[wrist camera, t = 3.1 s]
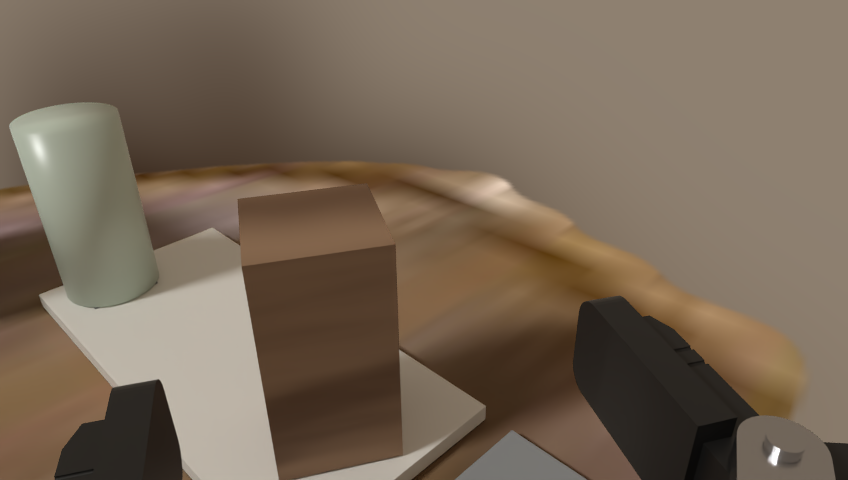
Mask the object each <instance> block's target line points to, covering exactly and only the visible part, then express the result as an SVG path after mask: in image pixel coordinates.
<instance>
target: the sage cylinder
mask: <svg viewBox="0 0 848 480" xmlns="http://www.w3.org/2000/svg"><path fill="white" fill-rule="evenodd" d="M9 128H10V131H11V134H12V136H13V139H14V142H15V145H16V148H17V151H18V154H19V157H20V160H21V163H22V166H23V169H24V171H25V174H26V177H27V180H28V183H29V186H30V189H31V192H32V195H33V198H34V201H35V204H36V207H37V210H38V212H39V215H40V218H41V221H42V224H43V227H44V230H45V233H46V236H47V239H48V242H49V245H50V247H51V250H52V253H53V256H54V259H55V262H56V265H57V268H58V271H59V274H60V277H61V280H62V283H63V285H64V288H65V291H66V294H67V297H68V299H69V300H70V301H71V302H72V303H74V304H77V305H79V306H84V307H107V306H113V305H117V304H121V303H124V302H127V301H130V300H132V299H134V298H137V297H139V296H140V295H142V294H144V293H145V292H147V291H148V290H149V289H151V288H152V287H153V286H154V285H155V283H156V282H157V280H158V278H159V271H158V267H157V263H156V259H155V255H154V251H153V247H152V243H151V239H150V235H149V231H148V227H147V223H146V219H145V215H144V211H143V207H142V203H141V199H140V195H139V191H138V187H137V183H136V179H135V175H134V171H133V168H132V164H131V160H130V156H129V152H128V148H127V144H126V140H125V136H124V132H123V128H122V124H121V121H120V116H119V112H118V109H117V108H116V107H114V106H112V105H109V104H104V103H93V102H92V103H91V102H85V103H70V104H62V105H56V106H51V107H46V108H42V109H39V110H35V111H32V112H29V113H26V114H24V115H22V116H20V117H18V118H16V119H15V120H13V121H12V122H11V123H10V125H9Z"/></svg>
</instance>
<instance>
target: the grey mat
mask: <svg viewBox="0 0 848 480" xmlns="http://www.w3.org/2000/svg"><path fill="white" fill-rule="evenodd" d="M455 480H587V479H585V478H584V477H582V476H581V475H579V474H578V473H576V472H575V471H573V470H572V469H570V468H569V467H567V466H566V465H564V464H563V463H561V462H560V461H558V460H556V459H555V458H553V457H552V456H550V455H549V454H547V453H546V452H544V451H543V450H541V449H540V448H538V447H537V446H535V445H534V444H532V443H531V442H529V441H528V440H526V439H525V438H523V437H522V436H520V435H519V434H517V433H516V432H514V431H513V430H512V431H510V432H509V433H508V434H507V435H506V436H505V437H504V438H502V439H501V440H500V441H499V442H498V443H497V444H495V445H494V446H493V447H492V448H491V449H490V450H489V451H487V452H486V453H485V454H484V455H483V456H482V457H480V458H479V459H478V460H477V461H476V462H475V463H474V464H472V465H471V466H470V467H469V468H468V469H467V470H465V471H464V472H463V473H462V474H461V475H460V476H459V477H457V478H456V479H455Z"/></svg>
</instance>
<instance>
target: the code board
mask: <svg viewBox="0 0 848 480" xmlns="http://www.w3.org/2000/svg"><path fill="white" fill-rule="evenodd" d="M153 251H154V255H155V259H156V263H157V267H158V271H159V278H158V280H157V282H156V283H155V285H154V286H153V287H152V288H151V289H149V290H148V291H147V292H145V293H144V294H142V295H140V296H139V297H137V298H134V299H132V300H130V301H127V302H124V303H121V304H117V305H113V306H107V307H84V306H79V305H77V304H74V303H72V302H71V301H70V300H69V299H68V297H67V294H66V291H65V288H64V285H63V286H60V287H57V288H55V289H52V290H50V291H47V292H44V293H42V294H39V297H40V300H41V303H42V305H43V307H44V308H45V309H46V310H47V312H48V313H49V314H50V315H51V316H52V317H53V319H54V320H55V321H56V322H57V323H58V324H59V326H60V327H61V328H62V329H63V330H64V331H65V332H66V334H67V335H68V336H69V337H70V338H71V339H72V341H73V342H74V343H75V344H76V345H77V346H78V348H79V349H80V350H81V351H82V352H83V353H84V355H85V356H86V357H87V358H88V359H89V360H90V361H91V363H92V364H93V365H94V366H95V367H96V368H97V370H98V371H99V372H100V373H101V374H102V375H103V377H104V378H105V379H106V380H107V381H108V382H109V384H110V385H111V386H112V387H113V388H114V387H118V386H123V385H129V384H134V383H140V382H146V381H151V380H157V379H159V380H160V381H161V383H162V385H163V388H164V391H165V395H166V398H167V402H168V405H169V409H170V412H171V416H172V420H173V423H174V427H175V430H176V434H177V437H178V441H179V445H180V451H181V458H182V468H183V469H184V470H185V472H186V473H187V474H188V475H189V476H190V477H191V479H192V480H279V477H278V472H277V466H276V460H275V455H274V449H273V443H272V438H271V432H270V426H269V420H268V415H267V409H266V403H265V398H264V392H263V386H262V381H261V375H260V369H259V364H258V358H257V352H256V347H255V341H254V335H253V329H252V324H251V318H250V312H249V307H248V301H247V295H246V290H245V284H244V278H243V273H242V267H241V250H240V245H238V244H237V243H235V242H234V241H232V240H231V239H229V238H228V237H226V236H224V235H223V234H221V233H220V232H218V231H217V230H215V229H214V228H210V229H208V230H205V231H203V232H200V233H197V234H195V235H192V236H190V237H187V238H184V239H182V240H179V241H177V242H174V243H171V244H169V245H166V246H164V247H161V248H159V249H156V250H153ZM399 357H400V385H401V413H402V441H403V455H400V456H396V457H391V458H387V459H382V460H377V461H373V462H368V463H364V464H359V465H355V466H350V467H345V468H341V469H336V470H332V471H327V472H323V473H318V474H313V475H309V476H304V477H300V478H295V479H291V480H412V479H413V478H414V477H415V476H416V475H418V474H419V473H420V472H421V471H423V470H424V469H425V468H426V467H427V466H429V465H430V464H431V463H432V462H434V461H435V460H436V459H437V458H438V457H440V456H441V455H442V454H443V453H445V452H446V451H447V450H448V449H450V448H451V447H452V446H453V445H454V444H456V443H457V442H458V441H459V440H461V439H462V438H463V437H464V436H465V435H467V434H468V433H469V432H470V431H472V430H473V429H474V428H475V427H476V426H478V425H479V424H480V423H481V422H483V421H484V420H485V416H486V406H485V405H483V404H482V403H480V402H479V401H477V400H476V399H474V398H473V397H471V396H470V395H468V394H467V393H465V392H464V391H462V390H460V389H459V388H457V387H456V386H454V385H453V384H451V383H450V382H448V381H447V380H445V379H444V378H442V377H441V376H439V375H438V374H436V373H434V372H433V371H431V370H430V369H428V368H427V367H425V366H424V365H422V364H421V363H419V362H418V361H416V360H415V359H413V358H411V357H410V356H408V355H407V354H405V353H404V352H402V351H401V350H399Z"/></svg>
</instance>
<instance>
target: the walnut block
mask: <svg viewBox="0 0 848 480" xmlns="http://www.w3.org/2000/svg"><path fill="white" fill-rule="evenodd" d="M238 214H239V232H240V250H241V267H242V273H243V278H244V284H245V290H246V295H247V301H248V307H249V312H250V318H251V324H252V329H253V335H254V341H255V347H256V352H257V358H258V364H259V369H260V375H261V381H262V386H263V392H264V398H265V403H266V409H267V415H268V420H269V426H270V432H271V438H272V443H273V449H274V455H275V460H276V466H277V472H278V477H279V480H291V479H295V478H300V477H304V476H309V475H313V474H318V473H323V472H327V471H332V470H336V469H341V468H345V467H350V466H355V465H359V464H364V463H368V462H373V461H377V460H382V459H387V458H391V457H396V456H400V455H403V441H402V413H401V385H400V357H399V329H398V302H397V274H396V246H395V242H394V240H393V238H392V236H391V234H390V232H389V229H388V227H387V225H386V223H385V221H384V219H383V217H382V214H381V212H380V210H379V208H378V206H377V204H376V202H375V200H374V197H373V195H372V193H371V191H370V189H369V187H368V185H367V183H366V184H358V185H350V186H342V187H333V188H325V189H317V190H309V191H300V192H292V193H284V194H276V195H267V196H259V197H251V198H243V199H238Z"/></svg>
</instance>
